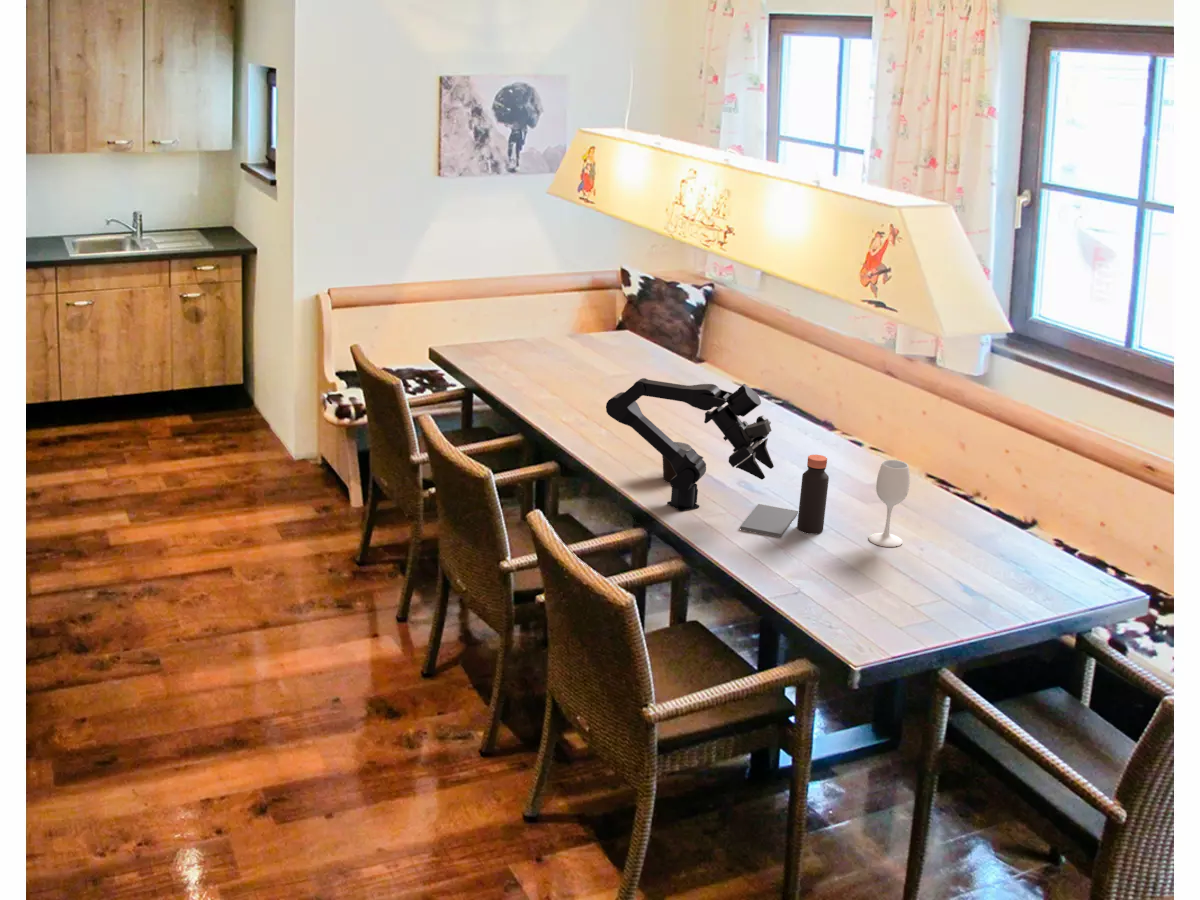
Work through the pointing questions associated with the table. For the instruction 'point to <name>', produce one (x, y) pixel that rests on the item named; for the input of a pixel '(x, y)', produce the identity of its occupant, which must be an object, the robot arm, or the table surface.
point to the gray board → (769, 520)
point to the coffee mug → (667, 467)
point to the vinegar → (813, 496)
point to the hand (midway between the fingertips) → (768, 473)
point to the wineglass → (891, 496)
